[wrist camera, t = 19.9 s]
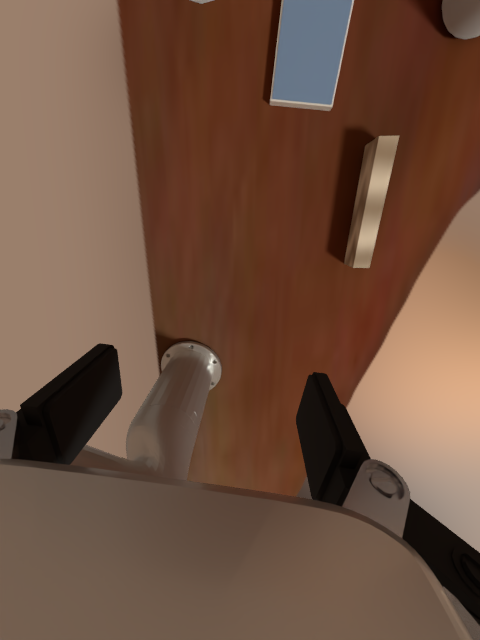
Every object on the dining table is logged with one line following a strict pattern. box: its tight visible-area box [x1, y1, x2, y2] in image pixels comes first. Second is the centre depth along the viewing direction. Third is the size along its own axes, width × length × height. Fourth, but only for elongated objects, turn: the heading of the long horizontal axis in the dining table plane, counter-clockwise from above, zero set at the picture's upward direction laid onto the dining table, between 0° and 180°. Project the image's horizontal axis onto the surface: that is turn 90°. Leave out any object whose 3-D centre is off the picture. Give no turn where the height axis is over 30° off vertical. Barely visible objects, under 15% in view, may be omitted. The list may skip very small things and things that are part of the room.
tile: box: [270, 0, 354, 111], centre depth 28 cm, size 2×8×10 cm
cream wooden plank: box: [344, 136, 399, 268], centre depth 33 cm, size 16×2×4 cm, turn 0°
